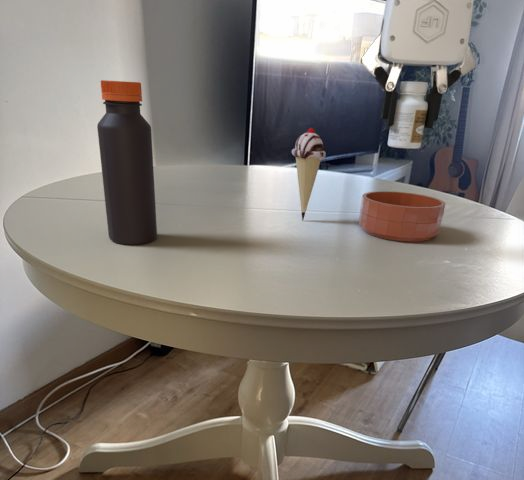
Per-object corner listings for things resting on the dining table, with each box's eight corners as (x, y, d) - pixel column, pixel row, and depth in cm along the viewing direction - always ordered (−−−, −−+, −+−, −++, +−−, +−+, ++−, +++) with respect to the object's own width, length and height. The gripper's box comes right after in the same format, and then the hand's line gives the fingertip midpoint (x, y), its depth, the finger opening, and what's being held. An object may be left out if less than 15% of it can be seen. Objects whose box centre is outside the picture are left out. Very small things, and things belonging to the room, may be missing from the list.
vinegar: (146, 230, 74) (137, 82, 64) (164, 242, 69) (157, 83, 59) (102, 235, 70) (85, 79, 61) (118, 247, 65) (102, 80, 56)
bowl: (426, 225, 87) (433, 193, 84) (447, 245, 75) (456, 210, 72) (353, 220, 87) (358, 189, 84) (363, 240, 75) (368, 204, 73)
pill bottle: (419, 149, 62) (431, 82, 59) (385, 147, 64) (395, 80, 60) (421, 147, 66) (432, 82, 62) (388, 144, 67) (398, 81, 64)
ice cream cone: (314, 226, 82) (324, 130, 74) (282, 222, 83) (289, 127, 76) (321, 219, 86) (331, 128, 79) (291, 215, 88) (298, 125, 81)
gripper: (368, -61, 52) (347, 125, 60) (524, -55, 51) (481, 131, 60) (358, -44, 58) (340, 122, 67) (497, -38, 58) (461, 127, 67)
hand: (407, 124), depth 63 cm, fingers closed on pill bottle, 4 cm apart
